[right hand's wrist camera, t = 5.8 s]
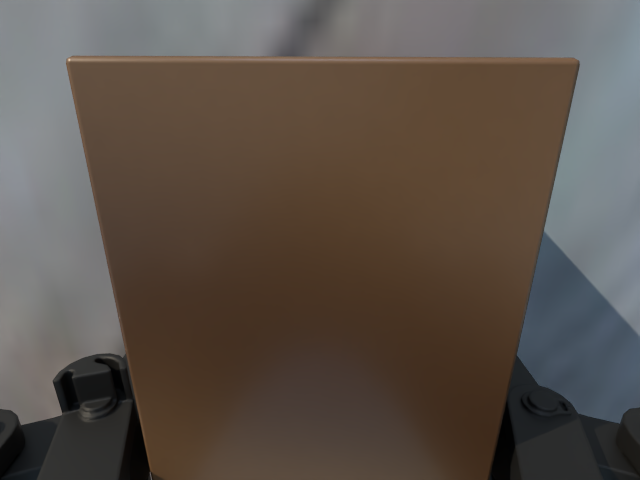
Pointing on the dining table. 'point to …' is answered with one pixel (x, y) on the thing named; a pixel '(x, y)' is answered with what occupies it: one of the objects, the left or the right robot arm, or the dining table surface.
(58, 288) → the dining table surface
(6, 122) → the dining table surface
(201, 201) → the beam
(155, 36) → the dining table surface
